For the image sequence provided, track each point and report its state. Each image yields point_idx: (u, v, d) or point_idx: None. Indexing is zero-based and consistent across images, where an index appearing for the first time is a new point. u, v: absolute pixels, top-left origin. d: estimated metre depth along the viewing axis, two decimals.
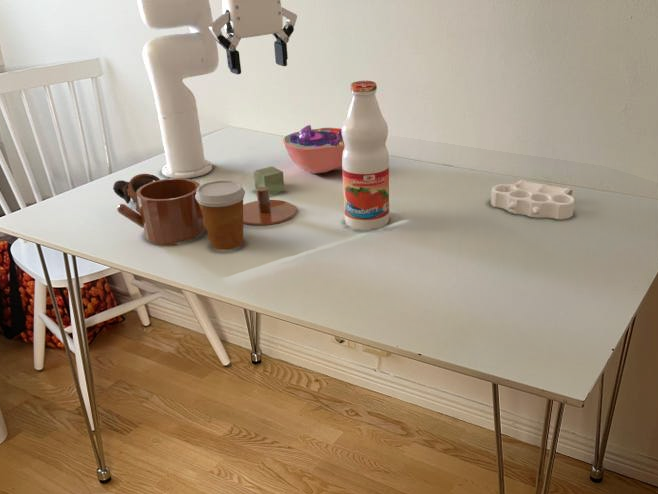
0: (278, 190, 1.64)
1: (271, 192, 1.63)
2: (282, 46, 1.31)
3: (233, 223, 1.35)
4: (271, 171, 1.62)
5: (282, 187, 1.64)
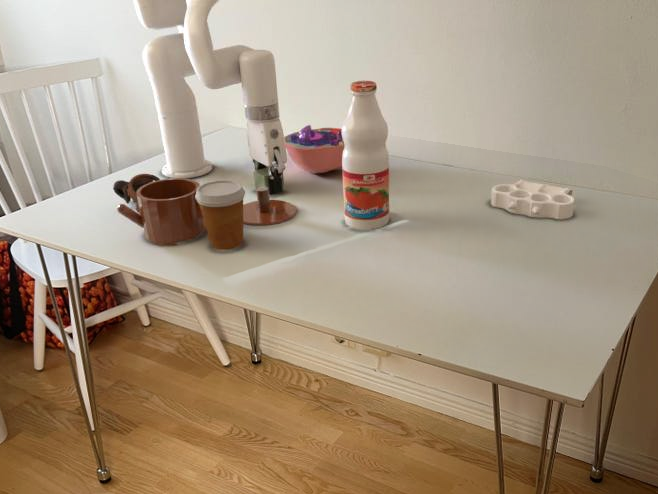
0: None
1: None
2: None
3: (233, 223, 1.35)
4: None
5: (282, 187, 1.64)
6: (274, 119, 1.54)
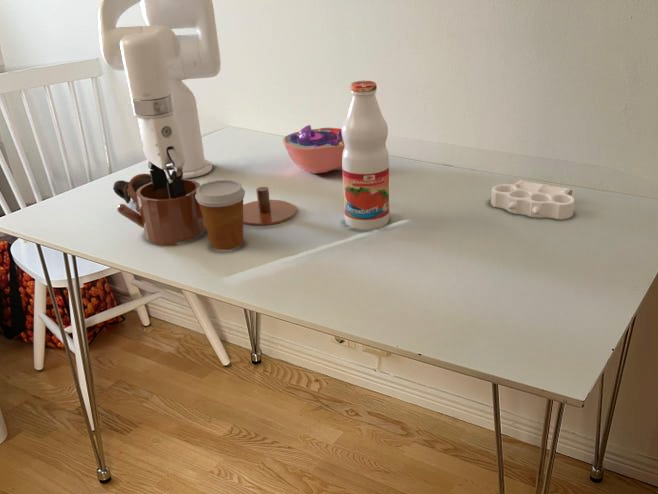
0: None
1: None
2: None
3: (233, 223, 1.35)
4: None
5: None
6: (166, 114, 1.32)
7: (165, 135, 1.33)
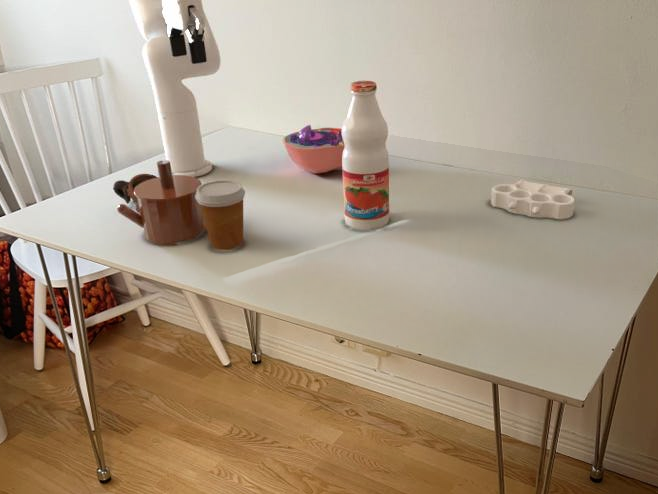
0: None
1: None
2: None
3: (233, 223, 1.35)
4: None
5: None
6: None
7: None
